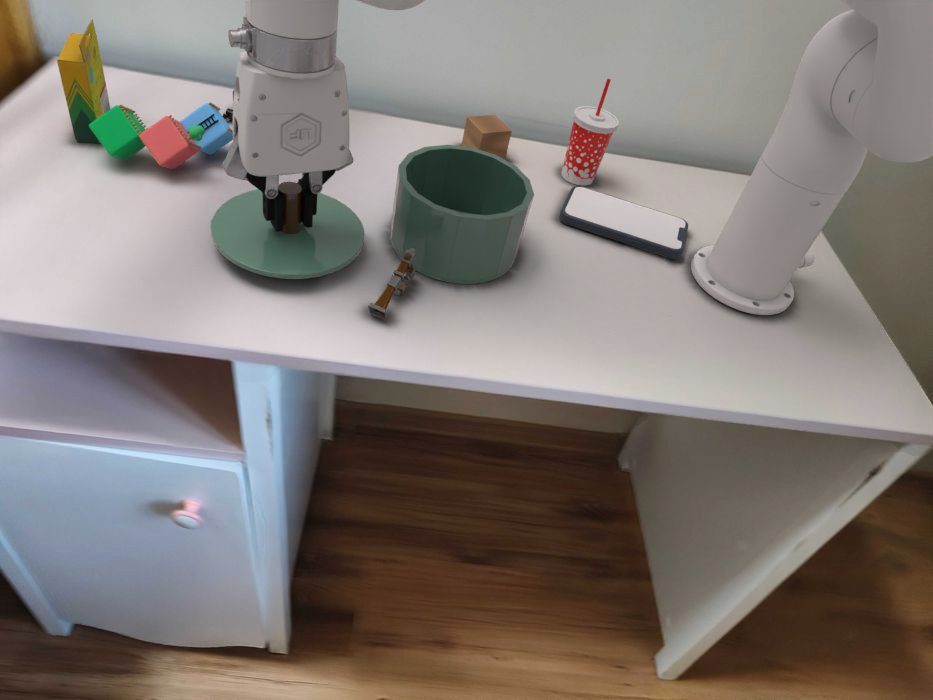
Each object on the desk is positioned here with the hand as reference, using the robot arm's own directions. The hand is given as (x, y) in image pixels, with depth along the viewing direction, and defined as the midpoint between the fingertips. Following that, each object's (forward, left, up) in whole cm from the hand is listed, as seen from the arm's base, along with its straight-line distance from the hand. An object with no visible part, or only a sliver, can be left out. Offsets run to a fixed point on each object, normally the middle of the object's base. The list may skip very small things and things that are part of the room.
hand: (289, 220), depth 72 cm
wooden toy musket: (-7, +11, -3) cm, 13 cm away
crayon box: (+15, -28, -3) cm, 32 cm away
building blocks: (+8, -20, -3) cm, 22 cm away
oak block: (-32, -14, -3) cm, 35 cm away
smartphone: (-42, +6, -3) cm, 43 cm away
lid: (0, 0, -1) cm, 1 cm away
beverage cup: (-43, -6, -3) cm, 44 cm away
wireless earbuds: (-4, -28, -3) cm, 28 cm away
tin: (-18, +4, -3) cm, 19 cm away
